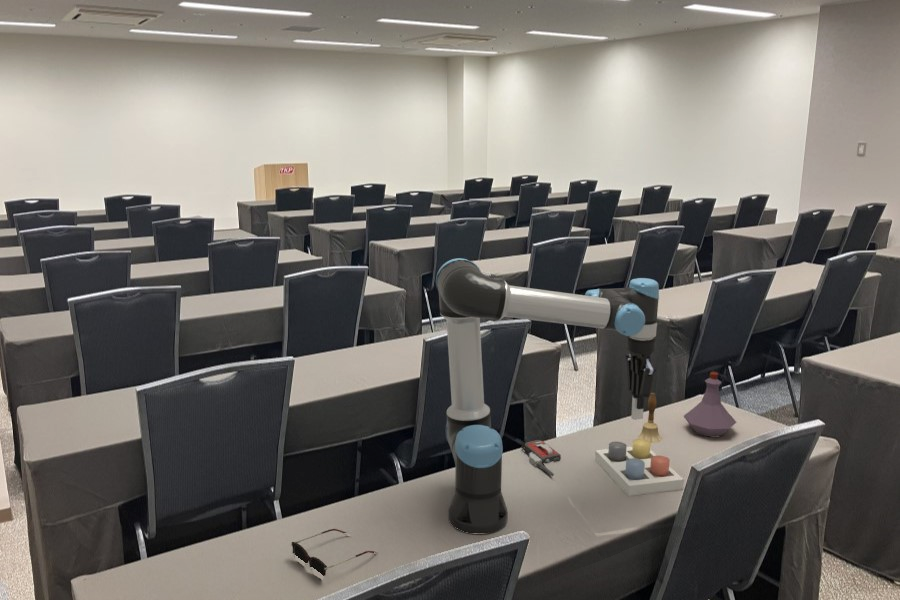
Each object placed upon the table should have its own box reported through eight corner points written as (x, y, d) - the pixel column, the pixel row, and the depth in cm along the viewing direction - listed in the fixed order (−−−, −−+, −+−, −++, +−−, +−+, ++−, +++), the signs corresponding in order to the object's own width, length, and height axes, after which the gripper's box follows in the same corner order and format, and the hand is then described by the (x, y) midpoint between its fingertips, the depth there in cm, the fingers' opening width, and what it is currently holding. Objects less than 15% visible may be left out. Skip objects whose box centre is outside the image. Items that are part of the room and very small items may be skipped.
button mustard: (636, 460, 218) (637, 447, 217) (628, 452, 222) (629, 439, 221) (652, 458, 219) (653, 445, 218) (644, 450, 223) (645, 438, 222)
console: (628, 499, 203) (629, 485, 202) (594, 462, 224) (595, 450, 223) (682, 492, 207) (683, 479, 206) (644, 457, 228) (645, 444, 227)
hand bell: (631, 437, 241) (634, 390, 237) (653, 433, 244) (657, 387, 240) (645, 448, 234) (648, 399, 230) (668, 444, 236) (672, 396, 232)
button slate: (630, 480, 206) (631, 467, 205) (622, 472, 210) (622, 459, 209) (647, 478, 207) (648, 465, 206) (638, 470, 211) (639, 457, 210)
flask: (734, 424, 251) (740, 367, 246) (736, 445, 235) (743, 385, 230) (682, 418, 255) (687, 362, 250) (681, 438, 240) (686, 379, 235)
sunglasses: (291, 560, 177) (291, 540, 176) (347, 537, 188) (347, 519, 187) (324, 586, 167) (325, 566, 166) (381, 561, 178) (382, 541, 177)
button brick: (655, 477, 207) (656, 464, 206) (646, 469, 212) (647, 456, 211) (672, 475, 208) (673, 462, 207) (662, 467, 213) (664, 454, 212)
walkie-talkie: (515, 451, 232) (549, 480, 214) (515, 438, 231) (550, 466, 213) (540, 446, 235) (575, 474, 218) (540, 433, 234) (576, 460, 217)
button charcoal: (612, 462, 216) (613, 449, 215) (605, 455, 221) (606, 442, 220) (628, 460, 217) (629, 448, 216) (621, 453, 222) (621, 440, 221)
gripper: (666, 342, 197) (661, 426, 203) (642, 328, 209) (638, 407, 215) (640, 344, 195) (635, 429, 201) (617, 330, 207) (613, 410, 213)
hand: (637, 418), depth 208 cm, fingers closed
